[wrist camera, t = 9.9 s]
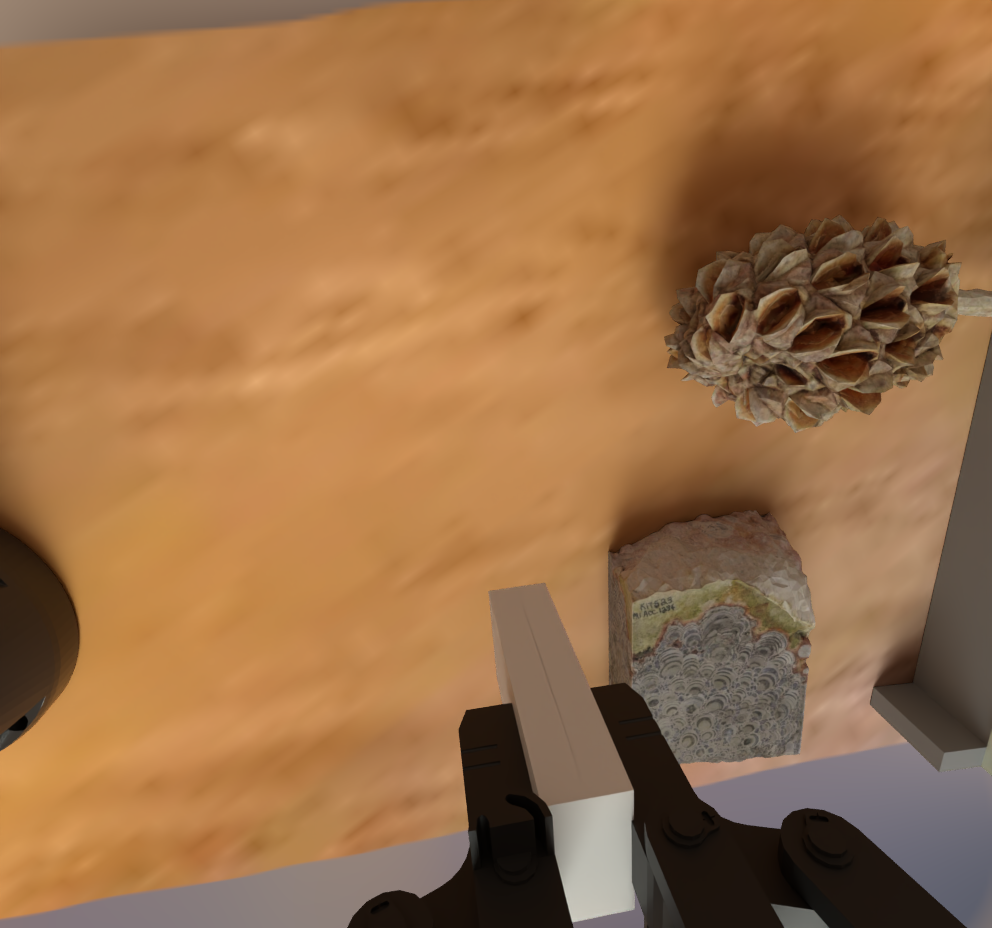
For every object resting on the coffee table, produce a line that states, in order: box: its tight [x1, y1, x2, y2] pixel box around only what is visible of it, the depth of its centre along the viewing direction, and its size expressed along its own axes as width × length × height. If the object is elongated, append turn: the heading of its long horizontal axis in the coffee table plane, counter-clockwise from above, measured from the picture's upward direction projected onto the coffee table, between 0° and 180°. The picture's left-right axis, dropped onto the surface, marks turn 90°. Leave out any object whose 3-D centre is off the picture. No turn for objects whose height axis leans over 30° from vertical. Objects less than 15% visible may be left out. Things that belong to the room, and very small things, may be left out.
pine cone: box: [664, 215, 992, 433], centre depth 28 cm, size 22×10×10 cm, turn 97°
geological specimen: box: [608, 510, 815, 764], centre depth 36 cm, size 11×6×15 cm
